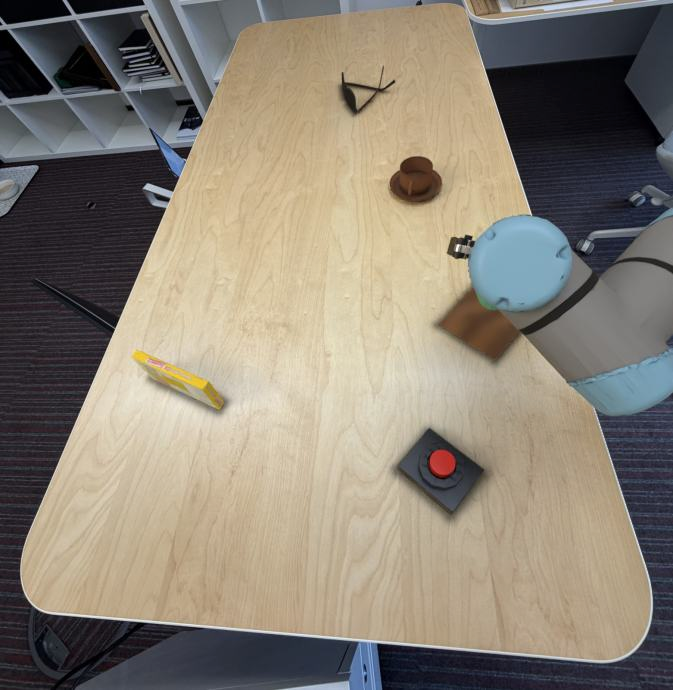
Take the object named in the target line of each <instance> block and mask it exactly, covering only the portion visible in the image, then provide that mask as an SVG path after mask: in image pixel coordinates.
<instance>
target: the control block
mask: <svg viewBox="0 0 673 690" xmlns="http://www.w3.org/2000/svg"><path fill="white" fill-rule="evenodd" d="M437 450H446V451H448V452H450V453H451V454H452V455H453V457H454V459H455V463H456V465H455V468H454V470H453V472H452V474H451V475H449V476H448V477H438V476H436V475H434V474H433V473H432V472H431V470H430V467H429V461H430V457H431V455H432V454H433V453H434V452H435V451H437ZM397 471H399V473H401V474H402V475H403V476H404V477H406V478H407V479H408V480H409V481H410V482H412V483H413V484H414V485H415V486H416V487H417V488H418V489H419V490H421V491H422V492H423V493H425V494H426V495H427V496H428V497H429V498H430V499H432V500H433V501H434V502H435V503H436V504H438V505H439V506H440V507H441V508H442V509H443V510H444V511H446V512H447V513H448V514H449V515H453V514H454V512H455V510H456V509H457V508H458V507H459V505H460V504H461V502H462V501H463V500H464V498H465V497H466V496H467V494H468V493H469V492H470V490H471V489H472V488H473V486H474V485H475V484H476V482H477V481H478V480H479V478H480V477H481V475H482V474H483V473H484V471H485V469H484V468H483V467H482V466H481V465H479V464H477V463H476V462H475V461H474V460H472V459H471V458H470V457H468V456H467V455H466V454H464V453H463V452H462V451H460V450H459V449H458V448H456V447H455V446H454V445H453V444H451V443H450V442H449V441H448V440H446V439H445V438H443V436H441V435H440V434H439V433H438V432H436V431H435V430H433V429H432V428H430V427H428V428H427V430H426V431H425V432H424V433H423V434H422V435H421V437H420V438H419V439H418V440H417V442H416V443H415V444H414V445H413V447H412V448H411V449H410V450H409V451H408V452H407V454H406V455H405V456H404V457H403V458H402V460H401V461H399V463H398V464H397Z"/></svg>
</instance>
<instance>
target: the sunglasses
mask: <svg viewBox="0 0 673 690" xmlns="http://www.w3.org/2000/svg"><path fill="white" fill-rule="evenodd" d="M381 68H382V69H381V74H380V80H379V84H378V87H374V86H369V85H365V84H361V83H360V84H359V83H354V82H347V81H345V73H344V71H341V89H342V90H341V91H342V96H343V99H344V100H345V102H346V105H347V106H348V107H349V109H350V110H351V111H352V112H353V113H354V114H357V113H360V112H361V111H362V110H363V109H364V108H366V106H367V105H368V104H369V103H370V102H371V101H372V100H373V98H375V96H376V95H377V94H378V92H383V91H385V90H387V89H389V88H390V87H391V86H393V85H394V84H396V79H395V78H394V79H393V80H392V81H391V82H390V83H388V84H387V85H386V86H385V87H382V88H381V84H382V81H383V80H382V79H383V75H384V70H385V66H384V65H382V67H381ZM348 86H352V87H358V88H362V89H369V90H374V91H375V92H374V93H373V94H372V95H371V96H370V98H368V100H366V102H365V103H364V104H363V105H361V106H360V107H359V108H358V109H357V99H356V95H355V93H354V91H353V90H352V89H351V88H350V87H348Z"/></svg>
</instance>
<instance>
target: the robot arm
mask: <svg viewBox="0 0 673 690" xmlns="http://www.w3.org/2000/svg"><path fill="white" fill-rule="evenodd" d="M473 238H474V236H473V235H469V234H464V237H462V236H461V237H457V236H451V237H450V240H449V243H448V247H447V251H446V254H447V255H448V256H451V257H452V258H453V259H455V260H459V259H460V260H467V268H468V269H467V272H468V278H469V279H470V282H471V284H470V285H471V286H472V288H474V290H475V291H476V292H477V293H478V294H479V295H480V296H481V297H482V298H483V300H484V301H485V302H486V303H488V304H489V305H493V306H495V307H496V308H497V309H498V310H499V311H500V312H501V313H502V314H503V315H504V316H505V317H506V318H507V319H508V320H509V322H510V323H511V324H512V325H513V326H514V327H515V328H516V329H518V330H519V333H521V334H522V335H523V336H524V337H525V338H526V339H527V341H528V342H529V343H530V344H531V345H532V346H533V347H534V348H535V350H537V351H538V353H539V354H540V356H542V357H543V358H544V359H545V361H547V362H548V363H549V365H550V366H552V368H553V369H554V370H555V371H556V372H557V373H558V375H560V376H561V377H562V379H563V380H564V381H565V384H567V386H568V387H571V388H573V389H574V390H575V391H576V392H577V393H578V394H579V395H580V396H581V397H582V398H584V399H585V400H586V401H587V402H588V403H589V404H590V405H591V406H592V407H593V408H594V409H595V410H596V411H598V412H599V413H600V414H603V415H606V416H609V417H620V416H631V415H635V414H638V413H640V412H644V411H647V410H648V409H651V408H653V407H655V406H656V405H658V404H660V403H661V402H663V401H664V400H666V399H667V398H669V396H670V395H672V394H673V347H672V346H669V345H668V344H667V342H668V341H669V339H670V338H671V336H672V335H673V206H672V207H671V208H669V209H667V210H666V211H664V212H663V213H661V215H659V216H658V217H657V218H656V219H654V220H653V221H652V222H650V223H649V224H648V225H646V226H645V227H644V228H643V229H642V230H641V231H640V232H639V233H638V234H637V235H636V237H635V238H634V240H633V241H632V243H631V244H630V245H629V246H628V247H627V248H626V249H625V250H624V251H623V252H622V253H621V254H620V255H619V256H618V257H617V258H616V259H615V260H614V262H613V263H612V264H611V265H610V266H608V268H606V270H605V271H604V272H603V273H602V274H601V275H600V276H599V275H598V274H597V273H596V272H595V271H594V270H592V269H591V268H590V266H588V265H587V264H586V263H585V261H584V260H582V259H581V257H579V255H577V254H576V253H575V252H574V250H573V249H572V247H571V246H570V243H569V239H568V237H567V236H566V235H565V234H564V233H563V231H562V230H561V229H560V228H559V227H558V226H556V225H555V224H554V223H552V222H551V221H550V220H548V219H547V218H541V217H539V216H533V215H531V214H517V215H510V216H505V217H503V218H501V219H499V220H496V221H494V222H493V223H492V225H490V226H489V227H488V228H487V229H485V230H484V231H483V232H482V233H481V234H480V235H479V236H478V237H477V238H476V239H475V240H473Z"/></svg>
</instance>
